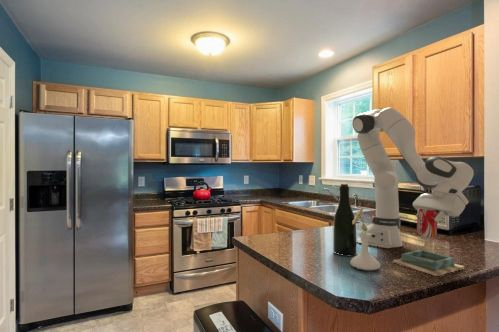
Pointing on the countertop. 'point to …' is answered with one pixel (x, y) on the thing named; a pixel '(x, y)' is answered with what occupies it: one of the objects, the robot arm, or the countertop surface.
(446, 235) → the countertop surface
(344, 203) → the dark green wine bottle
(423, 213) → the soda can
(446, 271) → the tray
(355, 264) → the flower in vase
